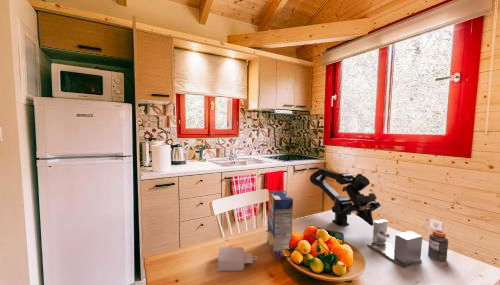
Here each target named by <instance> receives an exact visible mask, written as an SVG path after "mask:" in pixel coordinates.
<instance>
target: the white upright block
mask: <svg viewBox="0 0 500 285" xmlns="http://www.w3.org/2000/svg"><path fill="white" fill-rule="evenodd" d="M373 224H374V225H373V230H372V231H373V232H372V242H370V244H371V245H372V244H376V245H377V244H381V243H385V242H386V241H387V239H389V238H390V236H391V235H390V233H388V220H386V219H378V220H373Z"/></svg>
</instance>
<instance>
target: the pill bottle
mask: <svg viewBox="0 0 500 285" xmlns="http://www.w3.org/2000/svg"><path fill="white" fill-rule="evenodd" d="M448 246H449V240H448V238H447V237H446V232H445V231H443V230H440V229H433V230H432V233H430V234H429V239H428V249H427V251H428V252H427V255H428V256H429V258H431V259H432V260H435V261H437V262H446V261H447V260H448V248H449V247H448Z"/></svg>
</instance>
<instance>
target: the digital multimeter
mask: <svg viewBox="0 0 500 285" xmlns="http://www.w3.org/2000/svg"><path fill="white" fill-rule="evenodd" d="M316 227H317V228H318V229H321V228H322V227H318V226H316ZM324 229H325V230H326V231H327V232H328V234H329V235H330V236H332V237H335V238H336V239H339V240H342V241H344V242H345V234H344V232H342V231H336V230H332V229H326V228H324Z"/></svg>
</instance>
